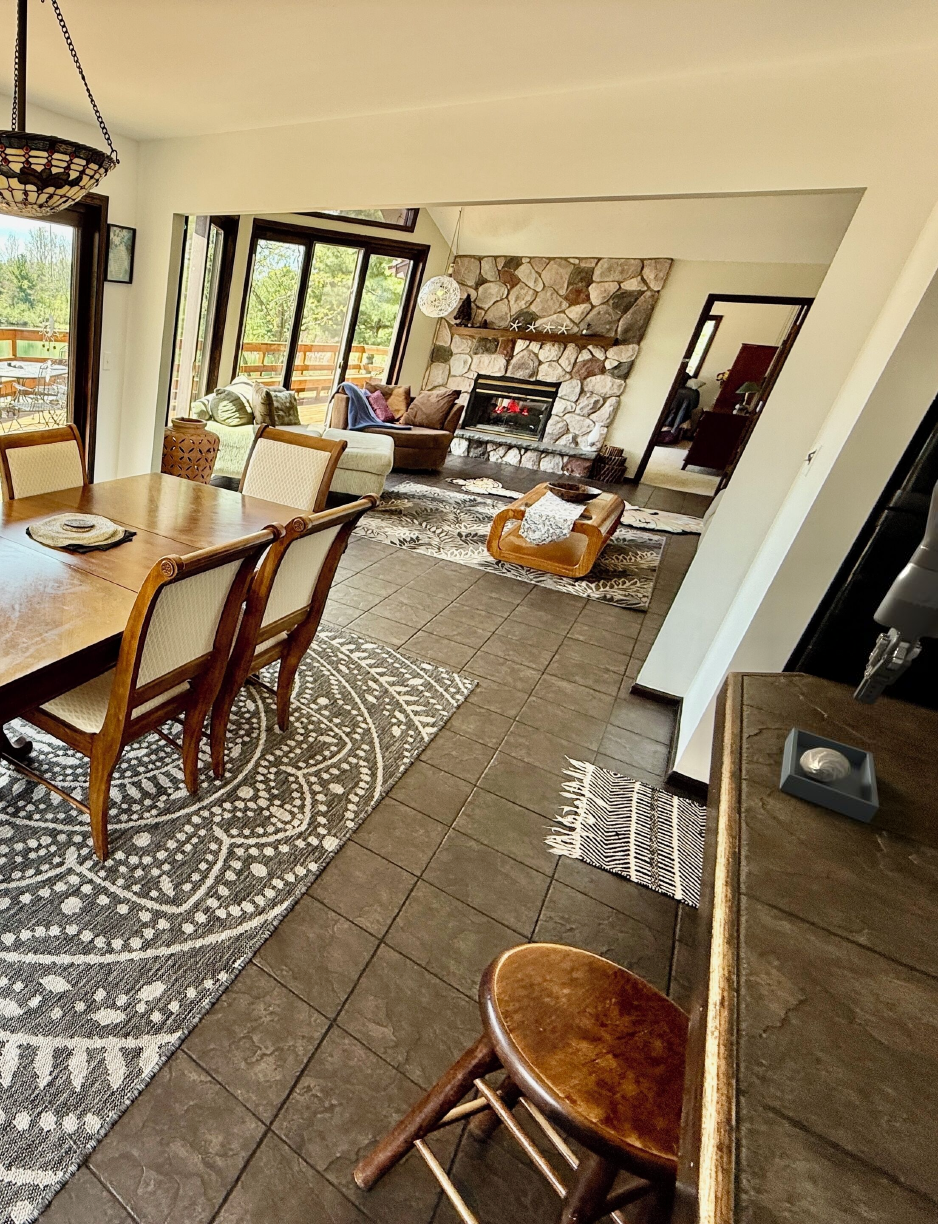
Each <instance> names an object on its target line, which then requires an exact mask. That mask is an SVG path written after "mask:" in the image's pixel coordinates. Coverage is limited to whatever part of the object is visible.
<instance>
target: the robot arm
mask: <svg viewBox="0 0 938 1224" xmlns="http://www.w3.org/2000/svg"><path fill="white" fill-rule="evenodd" d="M873 620H874V621H875V622H876V623H878V624H880V625H881V626H884V627H886V628H890V629H889V630H888V633H883V632H881V633H880V634H879V635H878V638H877V639H876V646H875V647H874V648H873V650H872V652H871V653H870V655H869V657H868V659H869V661H868V663H867V664H866V666H865V667H866V670H865V671H864V678H863V679H862V681H861V683H860V684H859V686H858V687H857V689H856V691H855V692H854V694H853V699H854V701H855V702H858V703H861V704H865V705H868V706H873V705H875V704H876V702H877V701H878V699H879V698H880V696H881V694H882V693H883V691H884V690H885V688H886V687H887V686H892V685H893V684H895V682H896V681H897V680H898V679H899V678H900V677H901V675H903V673H905V671H906V670H907V669H908V668H909V667H911V665H912V660H913V659H915V658H917V657H918V655H919V654H920V652H921V651H922V648H923V647H922V646H920V645H921V642H919V641H920V639H921V638H924V637H927V638H931V639H938V480H936V483H935V485H934V486H933V490H932V495H931V500H930V506H929V511H928V516H927V522H926V527H925V533H924V536H923V538H922V539H921V542H920V543H919V545H918V546H917V548H916V550H915V551H914V553H913V555H912V556H911V558H910V560H909V561H908V563H907V565H906V566H905V567H904V568H903V569H902V570H901V572H899V574H898V575H897V577H896V578H895V580H894V581H893V582H892V585H891V586H890V588H889V590H888V591H887V593H886V595H885V597H884V598H883V600H882V601H881V603H880V605H879V607H878V608H877V609H876V611H875V613H874V616H873Z"/></svg>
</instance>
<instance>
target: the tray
mask: <svg viewBox="0 0 938 1224" xmlns="http://www.w3.org/2000/svg"><path fill="white" fill-rule="evenodd" d="M816 748H827V749H831V750H834V751H837V752H839V753H840V754H842V755H843V756H844V757H845V758H846V759H847V760H848V762H849V764H850V772H849V774H848V775H847V776H846V777H845V778H844V779H842V780H839V781H834V782H825V781H821V780H818V779H815V778H813V777H811V776H808V775H807V774H806V773H805V771H804V769H803V768H802V766H801V765H800V760H801V757H802V756H803V755H804V753H805V752H807V751H809V750H812V749H816ZM782 758H783V759H782V765H781V773H780V781H779V782H780V783H779V790H780V791H783V792H784V793H787V794H790V795H793V796H795V797H798V798H800V799H803V800H805V801H808V802H811V803H814V804H816V805H818V806H821V807H824V808H827V809H829V810H832V811H834V812H837V813H840V814H842V815H844V816H847V817H850V818H851V819H852V818H853V819H854V820H858V821H860V822H863V823H865V824H869V823H870V821H871V820H872V819H873V817H874V816H875V814H876V813H877V811H878V810H879V809H880V804H879V794H878V789H877V788H878V787H877V779H876V771H875V762H874V755H873V753H872V752H869V751H866V750H863V749H861V748H857V747H855V746H851V745H849V744H845V743H843V742H840V741H836V740H834V739H831V738H827V737H824V736H821V735H819V734H816V733H812V732H809V731H806V730H803V729H801V728H797V727H793V728H792V729H791V731H790V732H789V734H788V736H787V738H786V739H785V741H784V750H783V756H782Z"/></svg>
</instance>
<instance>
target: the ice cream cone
mask: <svg viewBox="0 0 938 1224" xmlns="http://www.w3.org/2000/svg"><path fill="white" fill-rule="evenodd" d="M800 765H801V766H802V768H803V769H804V771H805V773H806V774H807V775H808V776H811V777H813V778H815V779H818V780H821V781H825V782H834V781H839V780H842V779H844V778H845V777H846V776H847V775H848V774H849V772H850V764H849V762H848V760H847V759H846V758H845V757H844V756H843V755H842V754H840V753H839V752H837V751H834V750H831V749H827V748H816V749H812V750H809V751H807V752H805V753H804V755H803V756H802V757H801V760H800Z"/></svg>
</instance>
